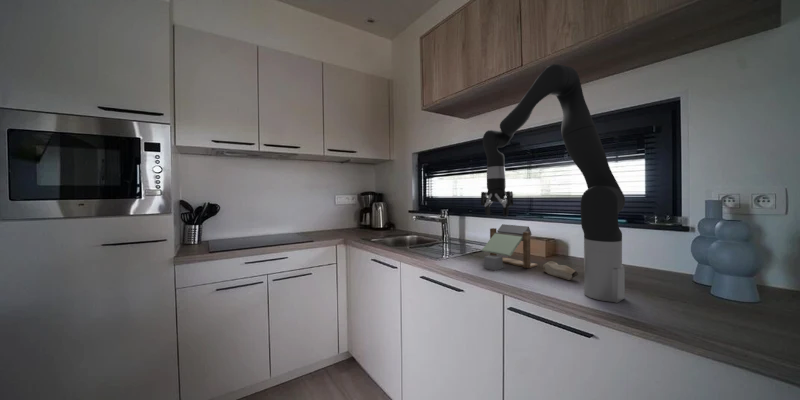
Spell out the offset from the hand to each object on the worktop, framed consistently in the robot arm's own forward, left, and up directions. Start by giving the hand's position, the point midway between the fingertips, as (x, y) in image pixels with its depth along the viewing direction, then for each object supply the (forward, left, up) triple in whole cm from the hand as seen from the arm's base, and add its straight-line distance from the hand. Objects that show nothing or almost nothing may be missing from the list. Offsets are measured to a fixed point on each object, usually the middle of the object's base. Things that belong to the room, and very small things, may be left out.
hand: (496, 215), depth 119 cm
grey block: (0, 0, -20) cm, 20 cm away
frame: (0, -11, -22) cm, 25 cm away
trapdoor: (0, -9, -14) cm, 16 cm away
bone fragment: (-22, -8, -22) cm, 32 cm away
